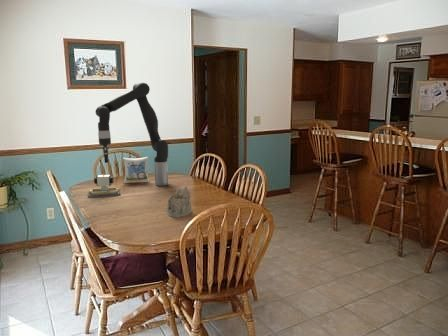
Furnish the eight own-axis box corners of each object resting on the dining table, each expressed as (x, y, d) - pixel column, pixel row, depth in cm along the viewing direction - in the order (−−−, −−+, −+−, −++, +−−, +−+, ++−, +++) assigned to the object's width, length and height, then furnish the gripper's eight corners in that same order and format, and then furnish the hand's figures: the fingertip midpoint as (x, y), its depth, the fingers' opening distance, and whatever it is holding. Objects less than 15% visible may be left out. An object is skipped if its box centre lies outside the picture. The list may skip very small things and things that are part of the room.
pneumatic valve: (113, 192, 251) (111, 174, 249) (94, 192, 250) (93, 175, 248) (114, 190, 257) (113, 173, 255) (96, 190, 256) (95, 173, 253)
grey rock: (176, 206, 224) (175, 181, 220) (197, 212, 214) (196, 187, 211) (156, 214, 212) (155, 188, 208) (178, 221, 202) (177, 194, 199)
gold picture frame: (119, 190, 263) (119, 186, 262) (120, 195, 250) (120, 190, 249) (89, 192, 257) (89, 188, 257) (88, 197, 244) (88, 193, 244)
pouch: (124, 182, 289) (122, 156, 286) (149, 180, 293) (148, 155, 289) (123, 184, 282) (122, 157, 278) (149, 183, 285) (148, 156, 282)
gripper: (110, 138, 244) (112, 163, 247) (110, 135, 257) (112, 159, 261) (98, 138, 242) (100, 163, 245) (98, 136, 255) (100, 160, 258)
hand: (106, 161), depth 253 cm, fingers open, 8 cm apart
